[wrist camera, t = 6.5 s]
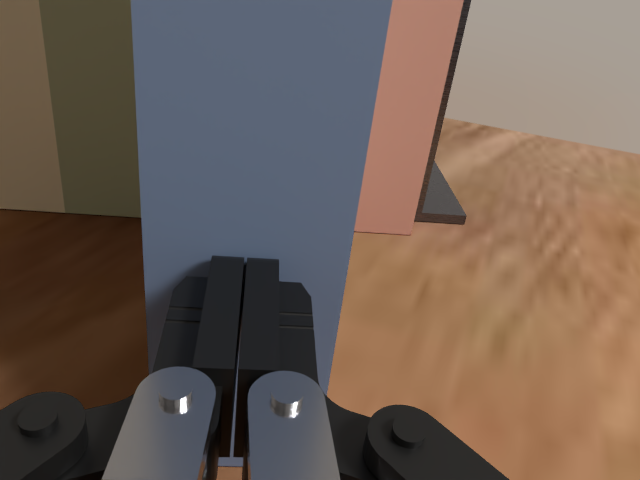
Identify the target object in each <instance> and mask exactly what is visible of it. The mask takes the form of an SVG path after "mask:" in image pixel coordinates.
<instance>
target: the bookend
mask: <svg viewBox="0 0 640 480" xmlns="http://www.w3.org/2000/svg"><path fill="white" fill-rule="evenodd" d="M470 3H471V0H464V2H463V6H462V11H461V15H460V19H459V24H458V28H457V33H456V37H455V42H454V46H453V50H452V55H451V59H450V64H449V68H448V73H447V77H446V82H445V86H444V90H443V95H442V99H441V104H440V108H439V113H438V117H437V121H436V126H435V130H434V135H433V139H432V144H431V148H430V152H429V157H428V161H427V166H426V170H425V175H424V179H423V183H422V188H421V192H420V197H419V201H418V206H417V210H416V214H415V219H414V221H424V222H439V223H454V224H464V223H465V220H466V214H465V212H464V211H463V209H462V207H461V206H460V204H459V202H458V200H457V199H456V197H455V195H454V194H453V192H452V190H451V188H450V187H449V185H448V183H447V182H446V180H445V178H444V176H443V175H442V173H441V171H440V170H439V168H438V166H437V164H436V163H435V161H434V159H435V154H436V150H437V146H438V141H439V137H440V133H441V128H442V124H443V120H444V115H445V111H446V107H447V102H448V98H449V93H450V90H451V85H452V81H453V76H454V72H455V68H456V63H457V59H458V55H459V50H460V46H461V42H462V38H463V33H464V29H465V25H466V20H467V16H468V12H469V8H470Z"/></svg>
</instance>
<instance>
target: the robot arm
mask: <svg viewBox="0 0 640 480" xmlns="http://www.w3.org/2000/svg"><path fill="white" fill-rule="evenodd" d="M243 276H244V257H231V256H214V255H212V258H211V263H210V269H209V275H208V277H192V276H186V277H185V278H184V279H183V280H182V281H181V282H180V283H179V284H178V285H177V286H176V287H175V288H174V289H173V292H172V296H171V300H170V304H169V309H168V312H167V316H166V320H165V323H164V327H163V331H162V335H161V339H160V343H159V347H158V351H157V354H156V358H155V362H154V366H153V370H152V373H151V374H150V375H149V376H147V377H146V378H145V379H144V380H143V381H142V382H141V383H140V384H139V386H138V387H137V389H136V392H135V394H133V395H132V396H130V397H128V398H126V399H124V400H121V401H119V402H116V403H112V404H108V405H103V406H99V407H94V408H90V409H85V410H84V407H83V406H82V404H81V403H80V402H79V401H78V400H77V399H76V398H74V397H73V396H71V395H68V394H65V393H61V392H41V393H36V394H32V395H29V396H26V397H24V398H21V399H19V400H17V401H15V402H14V403H12V404H10V405H9V406H7V407H5V408H4V409H2V410H0V480H216V478H217V471H218V461H219V457H230V449H231V437H232V425H233V413H234V401H235V389H236V377H237V365H238V353H239V365H238V381H237V399H236V417H235V435H234V453H233V457H243V470H242V480H509V479H508V478H507V477H505V476H504V475H503V474H502V473H501V472H499V471H498V470H497V469H496V468H494V467H493V466H492V465H491V464H490V463H488V462H487V461H486V460H485V459H483V458H482V457H481V456H480V455H479V454H477V453H476V452H475V451H474V450H472V449H471V448H470V447H469V446H467V445H466V444H465V443H464V442H463V441H461V440H460V439H459V438H458V437H456V436H455V435H454V434H453V433H452V432H450V431H449V430H448V429H447V428H445V427H444V426H443V425H442V424H441V423H439V422H438V421H437V420H436V419H434V418H433V417H432V416H430V415H429V414H428V413H426V412H424V411H422V410H420V409H418V408H415V407H411V406H407V405H391V406H387V407H384V408H382V409H380V410H378V411H377V412H376V413H374V415H373V416H372V417H367V416H364V415H361V414H358V413H354V412H351V411H349V410H346V409H344V408H342V407H340V406H338V405H337V404H335V403H334V402H332V401H331V400H330V399H329V398H328V397H327V396H326V395H325V394H324V392H323V391H322V389H321V387H320V385H319V381H318V374H317V361H316V349H315V337H314V330H313V328H314V324H313V316H312V314H313V312H312V300H311V296H310V295H309V293H308V292H307V290H306V289H305V288H304V286H303V285H302V283H300V282H282V281H279V259H265V258H249V257H247V266H246V279H245V291H244V303H243V315H242V328H241V312H242V294H243ZM240 328H241V340H240ZM239 341H240V352H239Z"/></svg>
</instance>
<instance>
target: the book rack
mask: <svg viewBox="0 0 640 480" xmlns="http://www.w3.org/2000/svg"><path fill="white" fill-rule="evenodd" d="M463 2H464V0H393V1H392V7H391V13H390V19H389V25H388V31H387V37H386V43H385V49H384V55H383V61H382V67H381V73H380V79H379V85H378V91H377V97H376V103H375V109H374V115H373V121H372V127H371V133H370V139H369V145H368V151H367V157H366V163H365V169H364V175H363V181H362V187H361V193H360V199H359V205H358V211H357V216H356V222H355V228H354V231H356V232H372V233H388V234H403V235H411V232H412V228H413V223H414V219H415V214H416V210H417V206H418V201H419V197H420V192H421V188H422V183H423V179H424V175H425V170H426V166H427V161H428V157H429V152H430V148H431V144H432V139H433V135H434V130H435V126H436V121H437V117H438V113H439V108H440V104H441V99H442V95H443V90H444V86H445V82H446V77H447V73H448V68H449V64H450V59H451V55H452V50H453V46H454V42H455V37H456V33H457V28H458V24H459V19H460V15H461V11H462V6H463ZM0 209H14V210H30V211H46V212H61V213H77V214H92V215H108V216H123V217H139V218H141V201H140V181H139V160H138V140H137V120H136V99H135V79H134V59H133V38H132V18H131V0H0Z"/></svg>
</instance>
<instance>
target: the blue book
mask: <svg viewBox="0 0 640 480" xmlns="http://www.w3.org/2000/svg"><path fill="white" fill-rule="evenodd" d="M392 1H393V0H131V18H132V38H133V59H134V79H135V99H136V120H137V140H138V160H139V181H140V201H141V222H142V242H143V262H144V283H145V303H146V323H147V344H148V364H149V375H150V374H151V373H152V370H153V366H154V362H155V358H156V354H157V351H158V347H159V343H160V339H161V335H162V331H163V327H164V323H165V320H166V316H167V312H168V309H169V304H170V300H171V296H172V292H173V289H174V288H175V287H176V286H177V285H178V284H179V283H180V282H181V281H182V280H183V279H184V278H185V277H186V276H192V277H208V275H209V269H210V263H211V258H212V255H214V256H231V257H244V276H243V294H242V312H241V328H242V315H243V303H244V291H245V279H246V266H247V257H249V258H265V259H279V281H282V282H300V283H302V285H303V286H304V288H305V289H306V290H307V292H308V293H309V295H310V296H311V300H312V312H313V314H312V316H313V324H314V328H313V330H314V337H315V349H316V361H317V374H318V381H319V385H320V387H321V389H322V391H323V392H324V394H325V395H326V396H327V390H328V384H329V378H330V372H331V366H332V360H333V354H334V348H335V342H336V336H337V330H338V324H339V318H340V312H341V306H342V300H343V294H344V288H345V282H346V276H347V270H348V264H349V258H350V252H351V246H352V240H353V234H354V228H355V222H356V216H357V211H358V205H359V199H360V193H361V187H362V181H363V175H364V169H365V163H366V157H367V151H368V145H369V139H370V133H371V127H372V121H373V115H374V109H375V103H376V97H377V91H378V85H379V79H380V73H381V67H382V61H383V55H384V49H385V43H386V37H387V31H388V25H389V19H390V13H391V7H392ZM241 328H240V340H241ZM239 352H240V341H239ZM238 365H239V353H238ZM238 365H237V377H236V389H235V401H234V413H233V425H232V437H231V449H230V457H219V461H218V466H242V467H243V457H233V453H234V435H235V417H236V399H237V381H238Z"/></svg>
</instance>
